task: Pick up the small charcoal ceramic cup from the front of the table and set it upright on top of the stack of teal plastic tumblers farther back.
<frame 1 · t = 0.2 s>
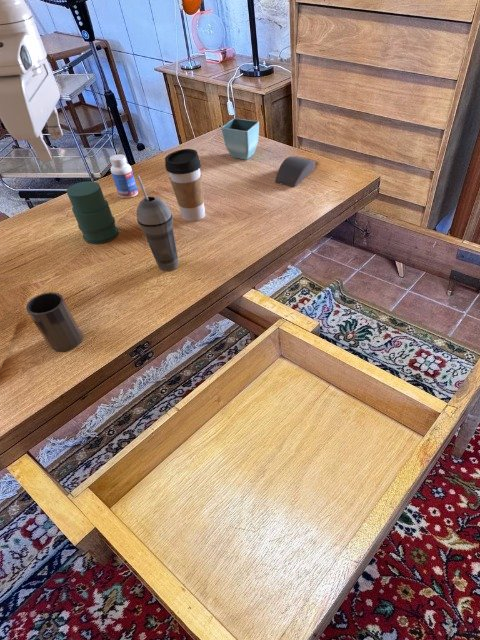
hand: (52, 148, 74), 28 cm above the table, tool pointing down, fingers open, 8 cm apart
coffee cup: (194, 216, 115), on the table
pill bottle: (129, 194, 124), on the table
cup stack: (101, 234, 110), on the table
charcoal cup: (66, 340, 85), on the table
flower pot: (243, 156, 139), on the table
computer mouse: (296, 176, 130), on the table
beverage cup: (168, 266, 101), on the table
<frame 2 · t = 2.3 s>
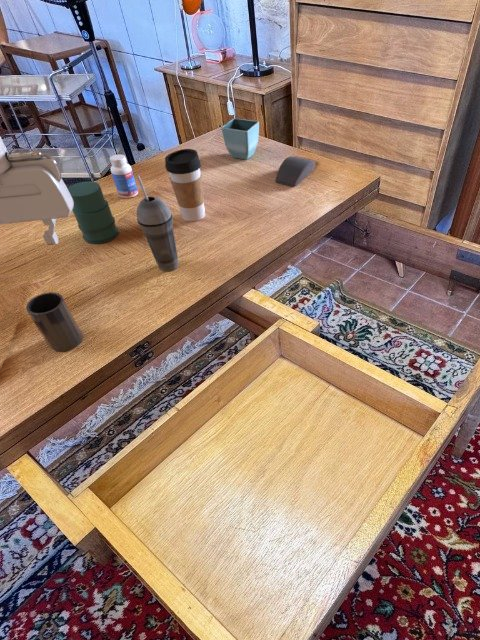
hand: (23, 246, 72), 19 cm above the table, tool pointing down, fingers open, 8 cm apart
nothing on the table moved.
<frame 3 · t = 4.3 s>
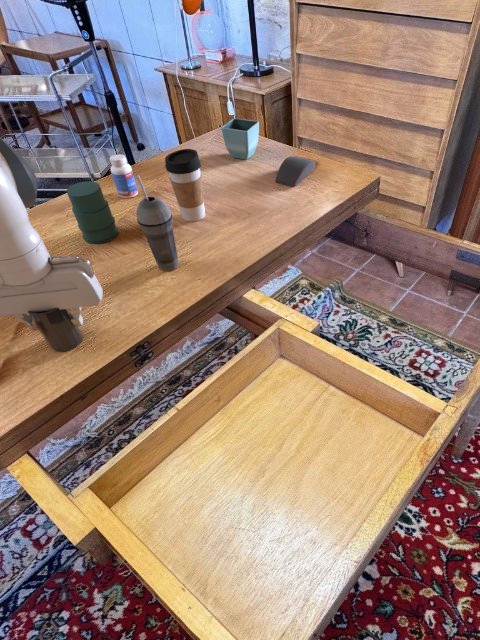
hand: (57, 326, 82), 4 cm above the table, tool pointing down, fingers closed on charcoal cup, 6 cm apart
charcoal cup: (66, 340, 85), on the table, touching gripper
everything else where it was.
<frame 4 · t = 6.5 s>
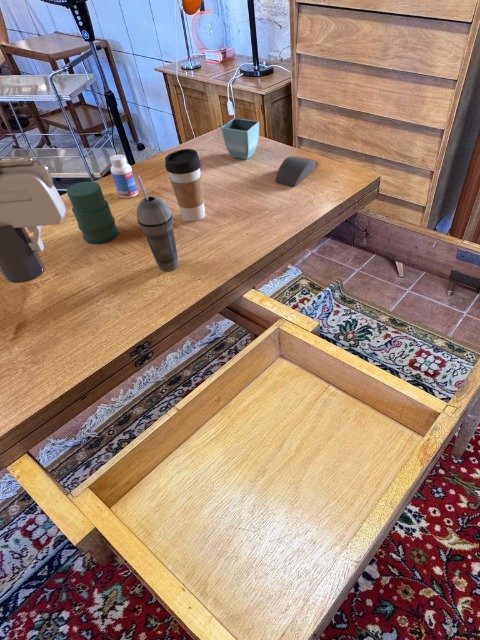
hand: (13, 252, 70), 19 cm above the table, tool pointing down, fingers closed on charcoal cup, 6 cm apart
charcoal cup: (25, 272, 73), point 15 cm above the table, touching gripper
everything else where it was.
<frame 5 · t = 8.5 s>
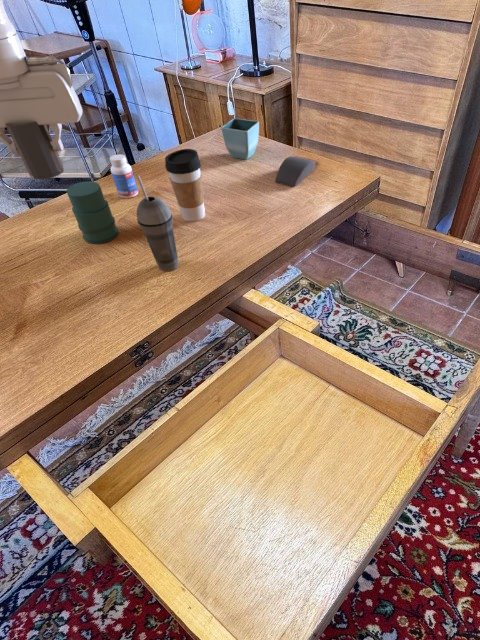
hand: (37, 151, 81), 25 cm above the table, tool pointing down, fingers closed on charcoal cup, 6 cm apart
charcoal cup: (46, 172, 84), point 21 cm above the table, touching gripper
everything else where it was.
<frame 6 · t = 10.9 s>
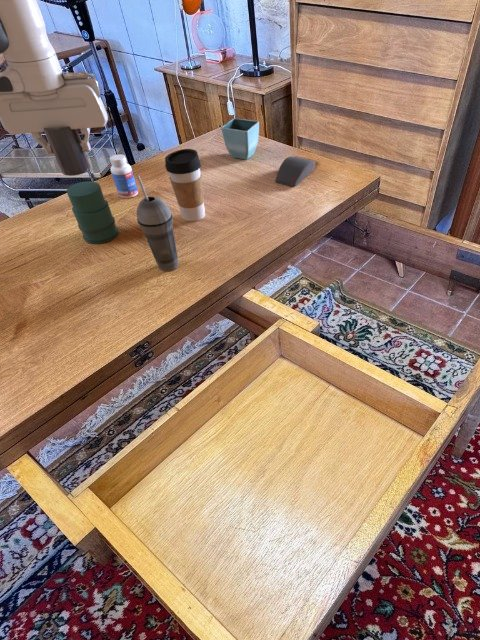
hand: (69, 152, 95), 19 cm above the table, tool pointing down, fingers closed on charcoal cup, 6 cm apart
charcoal cup: (76, 169, 98), point 16 cm above the table, touching gripper
everything else where it was.
when the fingers open (15 cm above the table, at t = 12.6 s): charcoal cup stays where it is, resting on cup stack.
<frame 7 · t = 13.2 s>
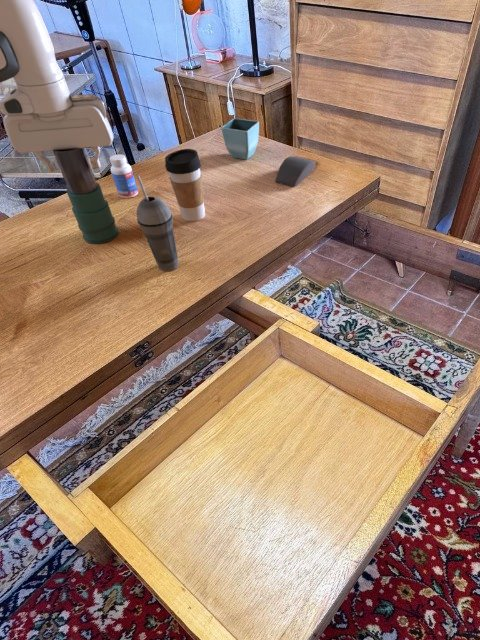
hand: (75, 169, 98), 16 cm above the table, tool pointing down, fingers open, 8 cm apart
charcoal cup: (83, 188, 101), point 11 cm above the table, touching cup stack
everything else where it was.
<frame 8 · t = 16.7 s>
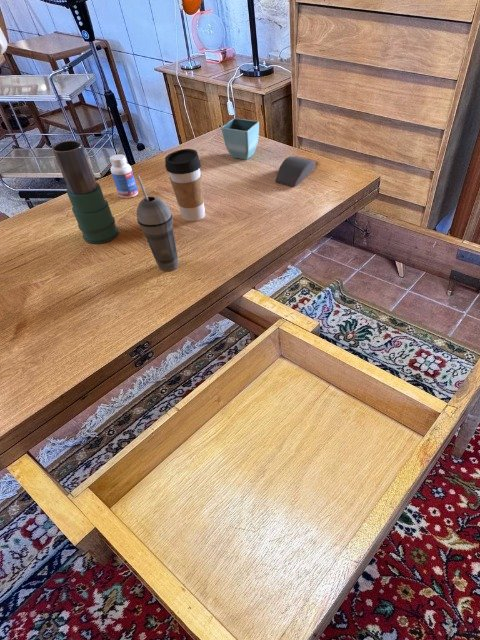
nothing on the table moved.
at the end: charcoal cup 0.1 cm off-centre on the cup stack, point 11.5 cm above the cup stack's base; charcoal cup tilted 0°; the gripper is holding nothing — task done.
